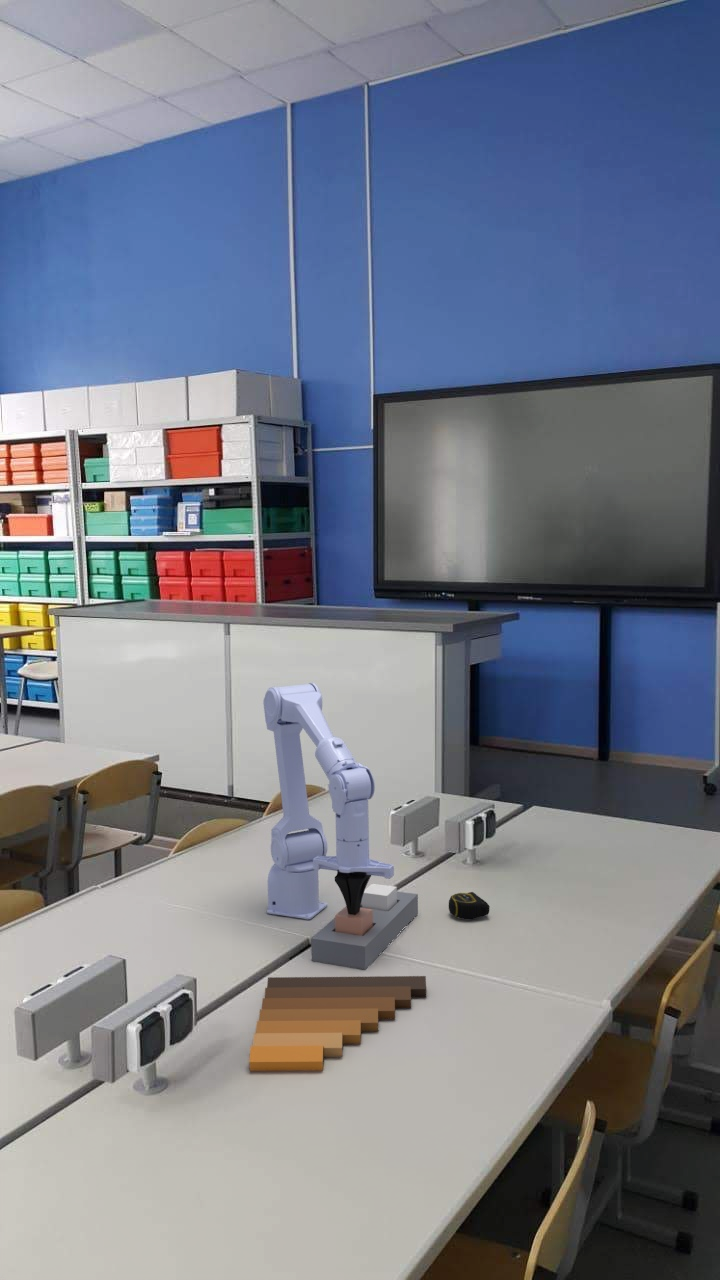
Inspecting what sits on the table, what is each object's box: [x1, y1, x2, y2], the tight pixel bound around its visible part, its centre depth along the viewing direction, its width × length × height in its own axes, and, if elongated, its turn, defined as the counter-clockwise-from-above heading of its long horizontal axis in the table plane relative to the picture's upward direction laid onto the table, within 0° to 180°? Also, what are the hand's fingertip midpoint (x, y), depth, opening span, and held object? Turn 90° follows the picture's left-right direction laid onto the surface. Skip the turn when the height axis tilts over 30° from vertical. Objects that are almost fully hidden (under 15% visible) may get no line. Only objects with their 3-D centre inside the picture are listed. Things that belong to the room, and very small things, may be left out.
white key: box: [362, 883, 398, 911], centre depth 187 cm, size 5×5×4 cm
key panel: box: [310, 891, 419, 970], centre depth 182 cm, size 10×26×4 cm, turn 157°
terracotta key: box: [334, 905, 373, 936], centre depth 176 cm, size 5×5×4 cm
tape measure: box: [448, 891, 490, 920], centre depth 191 cm, size 7×7×4 cm
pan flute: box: [248, 975, 427, 1072], centre depth 149 cm, size 25×3×25 cm
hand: (353, 912), depth 176 cm, fingers closed, pressing on terracotta key
